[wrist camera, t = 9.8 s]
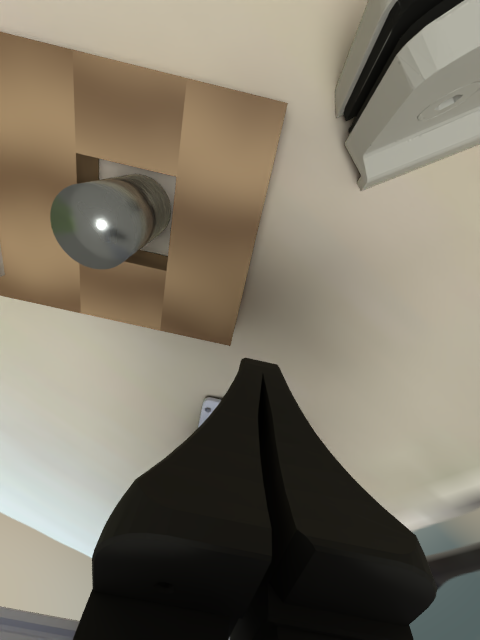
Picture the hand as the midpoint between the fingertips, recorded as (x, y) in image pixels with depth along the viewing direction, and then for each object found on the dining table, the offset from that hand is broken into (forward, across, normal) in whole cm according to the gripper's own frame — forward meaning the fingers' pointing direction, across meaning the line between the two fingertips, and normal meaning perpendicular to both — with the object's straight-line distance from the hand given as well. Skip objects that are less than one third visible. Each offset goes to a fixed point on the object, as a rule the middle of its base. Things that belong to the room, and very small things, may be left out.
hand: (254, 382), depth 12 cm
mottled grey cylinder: (+10, +8, -3) cm, 13 cm away
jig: (+10, +10, -3) cm, 14 cm away
